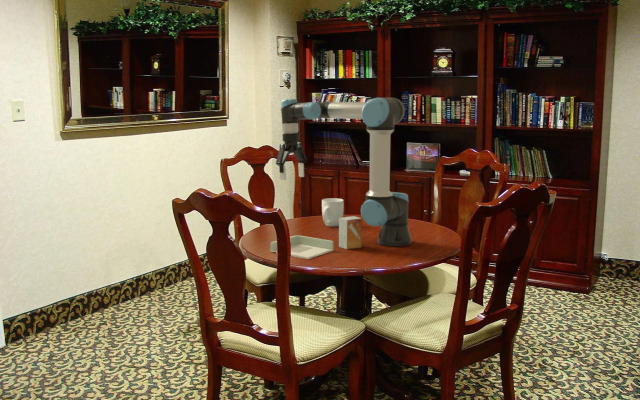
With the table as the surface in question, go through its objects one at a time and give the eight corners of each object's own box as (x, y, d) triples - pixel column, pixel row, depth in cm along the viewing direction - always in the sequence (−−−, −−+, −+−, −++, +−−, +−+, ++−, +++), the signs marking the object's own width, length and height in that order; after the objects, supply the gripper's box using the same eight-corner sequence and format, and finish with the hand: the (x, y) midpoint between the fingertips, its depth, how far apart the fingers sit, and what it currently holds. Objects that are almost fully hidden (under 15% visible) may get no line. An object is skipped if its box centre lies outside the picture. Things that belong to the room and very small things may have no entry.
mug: (333, 229, 329) (333, 203, 327) (314, 227, 335) (314, 201, 333) (347, 224, 342) (347, 199, 340) (328, 222, 348) (328, 197, 345)
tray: (333, 250, 287) (333, 240, 286) (308, 259, 273) (308, 249, 272) (296, 244, 299) (296, 235, 298) (270, 252, 284) (270, 242, 283)
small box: (346, 249, 289) (347, 220, 287) (338, 246, 294) (338, 217, 292) (361, 247, 293) (362, 218, 291) (353, 244, 299) (353, 215, 296)
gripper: (300, 131, 323) (302, 175, 326) (266, 134, 303) (268, 180, 306) (313, 131, 318) (314, 175, 321) (279, 133, 299) (281, 181, 301)
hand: (292, 178), depth 313 cm, fingers open, 13 cm apart
